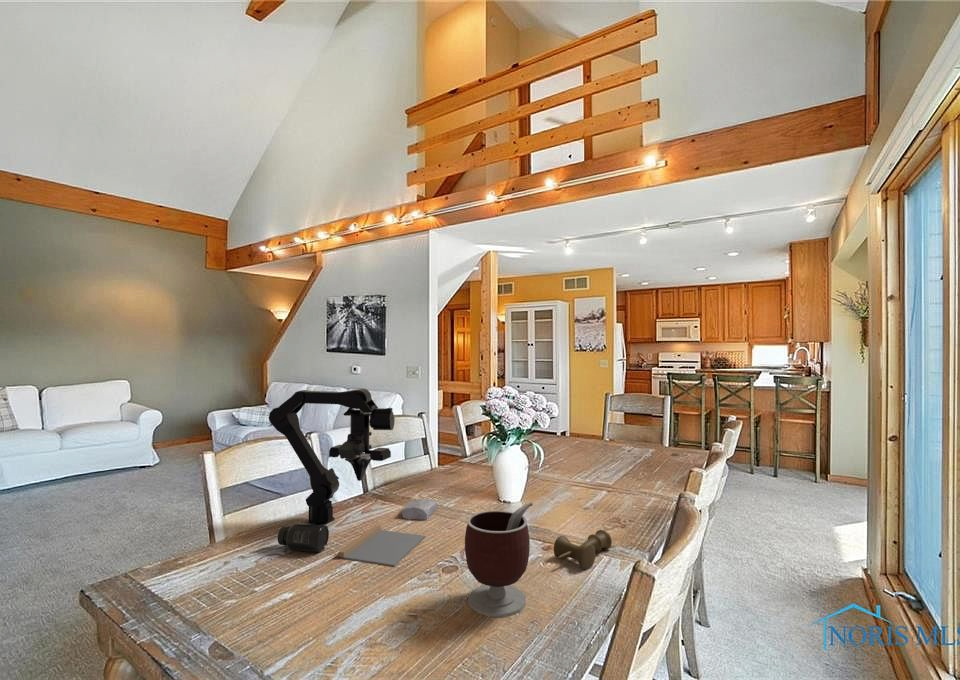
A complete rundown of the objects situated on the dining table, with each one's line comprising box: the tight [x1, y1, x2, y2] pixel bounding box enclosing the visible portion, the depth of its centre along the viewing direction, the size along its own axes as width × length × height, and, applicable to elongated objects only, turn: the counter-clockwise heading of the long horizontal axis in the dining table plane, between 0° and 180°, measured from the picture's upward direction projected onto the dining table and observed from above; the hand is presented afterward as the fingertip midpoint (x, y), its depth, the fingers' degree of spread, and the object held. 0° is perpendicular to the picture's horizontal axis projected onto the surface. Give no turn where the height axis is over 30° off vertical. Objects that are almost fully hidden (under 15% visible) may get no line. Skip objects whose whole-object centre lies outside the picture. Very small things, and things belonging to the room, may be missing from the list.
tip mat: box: [337, 524, 426, 567], centre depth 129 cm, size 16×19×2 cm
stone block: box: [401, 498, 438, 521], centre depth 155 cm, size 12×5×10 cm
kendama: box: [553, 529, 612, 570], centre depth 123 cm, size 6×10×20 cm
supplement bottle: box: [276, 522, 330, 553], centre depth 127 cm, size 7×7×12 cm
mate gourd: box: [464, 501, 533, 618], centre depth 102 cm, size 16×14×20 cm
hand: (359, 480), depth 147 cm, fingers closed
